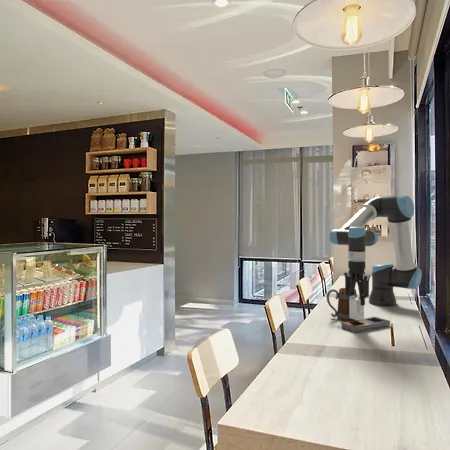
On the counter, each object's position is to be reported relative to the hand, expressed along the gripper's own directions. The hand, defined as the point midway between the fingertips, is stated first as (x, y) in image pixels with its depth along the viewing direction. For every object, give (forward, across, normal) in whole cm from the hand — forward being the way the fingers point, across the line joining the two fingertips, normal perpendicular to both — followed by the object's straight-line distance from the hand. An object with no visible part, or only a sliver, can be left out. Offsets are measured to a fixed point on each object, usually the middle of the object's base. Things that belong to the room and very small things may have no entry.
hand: (356, 310), depth 185 cm
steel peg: (+3, 0, 0) cm, 3 cm away
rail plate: (+8, 0, +6) cm, 10 cm away
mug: (+9, -17, +8) cm, 20 cm away
